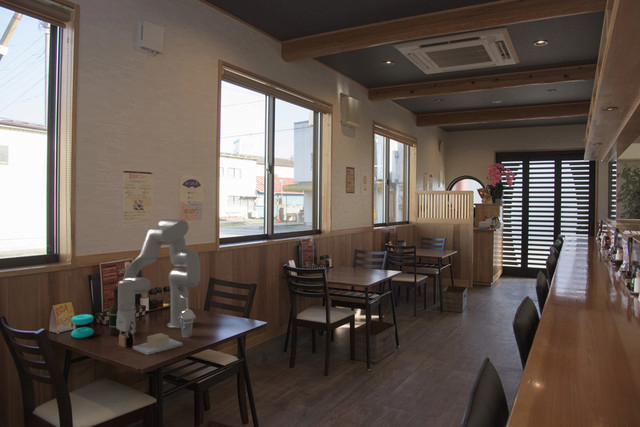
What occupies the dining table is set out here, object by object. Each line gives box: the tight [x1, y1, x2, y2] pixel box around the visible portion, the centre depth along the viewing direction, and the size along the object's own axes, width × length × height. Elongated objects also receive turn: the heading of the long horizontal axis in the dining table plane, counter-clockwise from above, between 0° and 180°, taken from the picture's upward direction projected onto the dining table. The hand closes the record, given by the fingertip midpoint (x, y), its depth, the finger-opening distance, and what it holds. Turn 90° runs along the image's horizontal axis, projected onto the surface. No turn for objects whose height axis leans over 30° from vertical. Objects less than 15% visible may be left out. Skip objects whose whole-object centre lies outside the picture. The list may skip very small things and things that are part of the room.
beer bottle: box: [108, 286, 120, 337], centre depth 233 cm, size 8×8×24 cm
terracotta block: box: [118, 333, 135, 348], centre depth 215 cm, size 5×5×5 cm
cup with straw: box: [178, 296, 196, 339], centre depth 231 cm, size 8×9×20 cm
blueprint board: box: [132, 332, 184, 356], centre depth 213 cm, size 18×13×5 cm
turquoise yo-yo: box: [71, 313, 95, 339], centre depth 230 cm, size 10×10×10 cm
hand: (126, 343), depth 216 cm, fingers closed on terracotta block, 5 cm apart
